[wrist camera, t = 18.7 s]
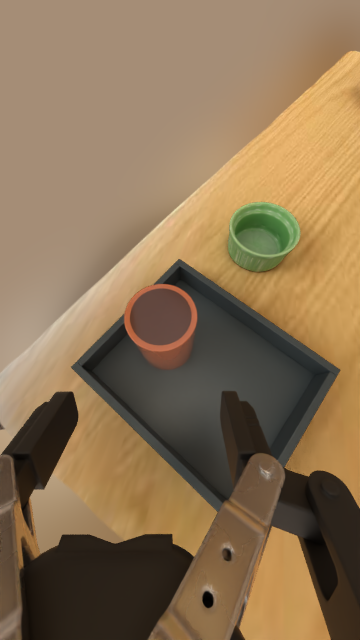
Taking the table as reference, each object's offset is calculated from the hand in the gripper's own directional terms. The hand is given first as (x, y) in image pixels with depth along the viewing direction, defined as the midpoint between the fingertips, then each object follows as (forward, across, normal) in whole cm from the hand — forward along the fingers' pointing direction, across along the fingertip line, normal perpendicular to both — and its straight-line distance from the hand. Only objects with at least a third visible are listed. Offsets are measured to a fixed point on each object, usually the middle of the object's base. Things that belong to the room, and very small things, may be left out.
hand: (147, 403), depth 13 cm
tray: (+13, -4, +8) cm, 15 cm away
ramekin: (+25, -13, -5) cm, 29 cm away
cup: (+15, 0, +5) cm, 16 cm away
